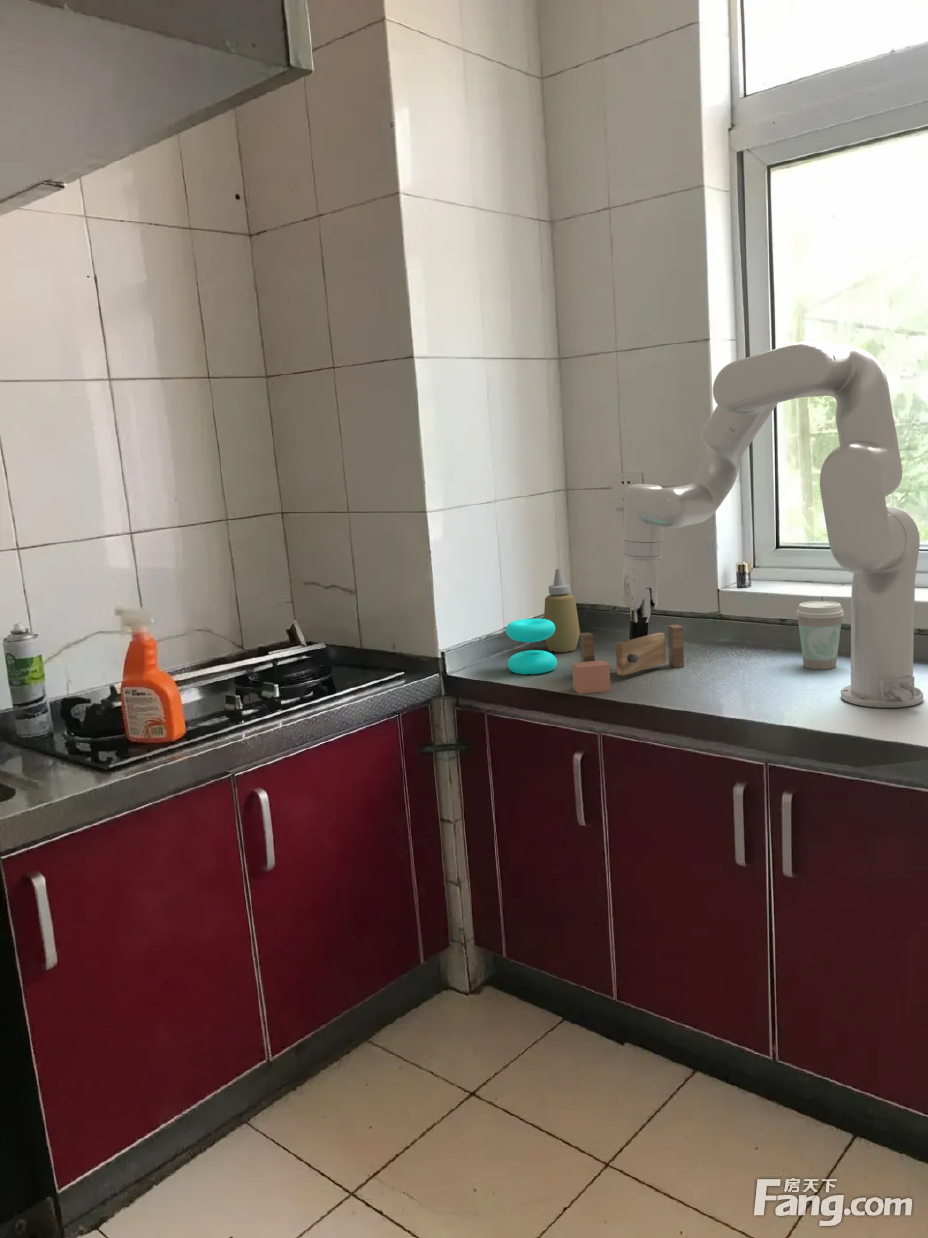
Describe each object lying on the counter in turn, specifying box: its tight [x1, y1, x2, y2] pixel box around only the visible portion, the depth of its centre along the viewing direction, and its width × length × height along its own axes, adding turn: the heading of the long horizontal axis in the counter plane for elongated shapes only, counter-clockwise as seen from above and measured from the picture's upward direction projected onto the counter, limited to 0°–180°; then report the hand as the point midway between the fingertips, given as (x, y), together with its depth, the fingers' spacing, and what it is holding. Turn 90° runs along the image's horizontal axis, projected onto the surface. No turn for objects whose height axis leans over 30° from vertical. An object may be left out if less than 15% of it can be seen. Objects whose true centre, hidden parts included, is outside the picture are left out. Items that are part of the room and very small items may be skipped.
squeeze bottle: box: [543, 568, 581, 653], centre depth 217 cm, size 8×8×18 cm
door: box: [615, 632, 666, 676], centre depth 192 cm, size 3×12×6 cm, turn 130°
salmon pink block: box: [571, 659, 612, 695], centre depth 183 cm, size 4×6×5 cm, turn 98°
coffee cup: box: [795, 600, 845, 671], centre depth 189 cm, size 8×8×12 cm
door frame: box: [579, 624, 685, 675], centre depth 196 cm, size 3×20×8 cm, turn 98°
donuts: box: [505, 618, 558, 675], centre depth 201 cm, size 10×10×10 cm
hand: (638, 641), depth 196 cm, fingers closed
